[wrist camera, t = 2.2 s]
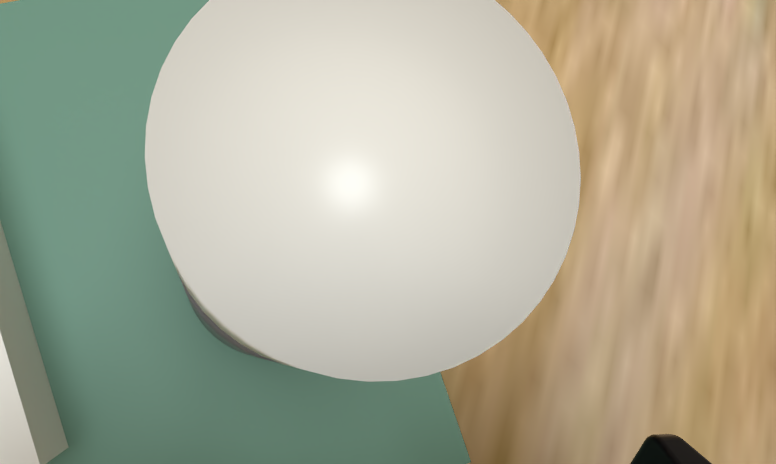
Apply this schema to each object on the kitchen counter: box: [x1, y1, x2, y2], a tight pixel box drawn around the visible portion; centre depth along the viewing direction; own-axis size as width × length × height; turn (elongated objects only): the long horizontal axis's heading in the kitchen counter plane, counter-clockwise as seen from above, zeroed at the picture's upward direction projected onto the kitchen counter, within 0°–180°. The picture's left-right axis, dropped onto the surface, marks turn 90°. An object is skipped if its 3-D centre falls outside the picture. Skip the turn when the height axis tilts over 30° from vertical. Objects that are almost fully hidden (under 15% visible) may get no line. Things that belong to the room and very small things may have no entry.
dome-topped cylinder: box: [145, 0, 581, 382], centre depth 13 cm, size 5×5×12 cm
